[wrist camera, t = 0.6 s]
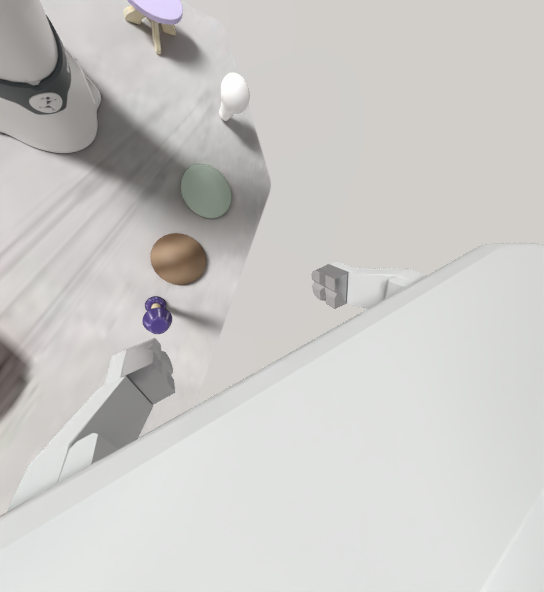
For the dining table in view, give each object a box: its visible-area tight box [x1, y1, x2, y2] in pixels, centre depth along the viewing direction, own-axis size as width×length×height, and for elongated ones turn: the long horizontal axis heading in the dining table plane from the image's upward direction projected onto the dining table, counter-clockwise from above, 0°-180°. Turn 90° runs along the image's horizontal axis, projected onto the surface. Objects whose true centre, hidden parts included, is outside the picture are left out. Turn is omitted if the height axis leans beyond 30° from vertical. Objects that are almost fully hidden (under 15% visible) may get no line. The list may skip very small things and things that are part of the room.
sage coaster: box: [181, 164, 231, 218], centre depth 49 cm, size 12×12×1 cm
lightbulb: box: [219, 73, 250, 121], centre depth 44 cm, size 6×6×11 cm
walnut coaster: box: [151, 233, 206, 285], centre depth 47 cm, size 12×12×1 cm
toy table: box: [123, 0, 183, 54], centre depth 37 cm, size 10×9×6 cm
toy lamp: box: [143, 296, 172, 334], centre depth 40 cm, size 5×5×17 cm
